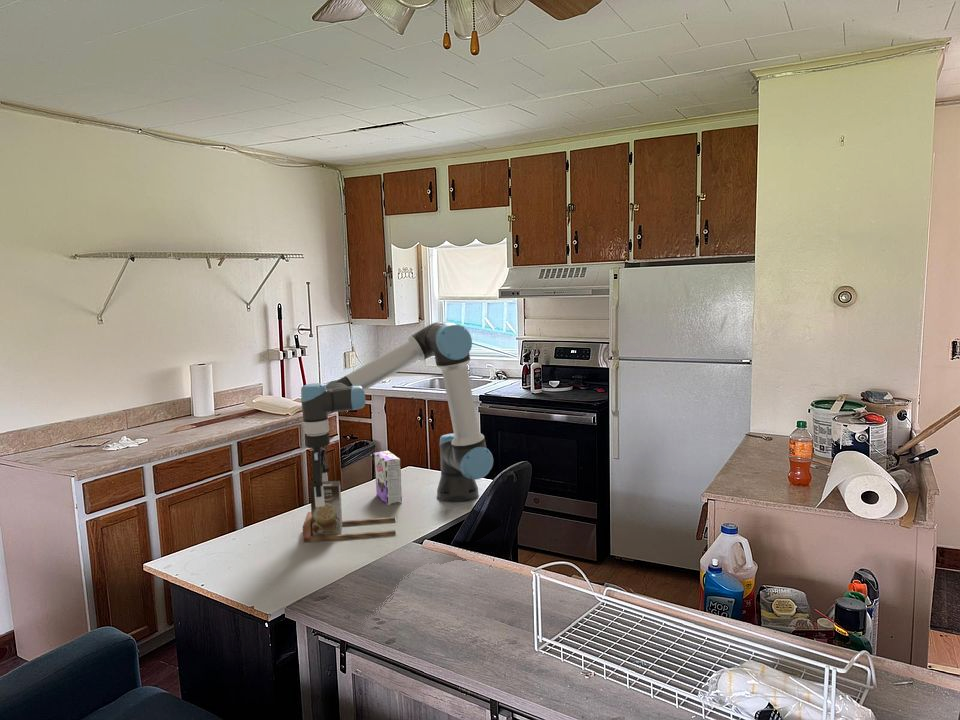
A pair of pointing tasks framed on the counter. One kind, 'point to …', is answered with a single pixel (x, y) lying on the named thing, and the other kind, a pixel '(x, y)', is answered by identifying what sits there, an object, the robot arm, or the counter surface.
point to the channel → (308, 534)
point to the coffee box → (327, 511)
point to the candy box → (388, 477)
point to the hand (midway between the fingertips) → (322, 499)
